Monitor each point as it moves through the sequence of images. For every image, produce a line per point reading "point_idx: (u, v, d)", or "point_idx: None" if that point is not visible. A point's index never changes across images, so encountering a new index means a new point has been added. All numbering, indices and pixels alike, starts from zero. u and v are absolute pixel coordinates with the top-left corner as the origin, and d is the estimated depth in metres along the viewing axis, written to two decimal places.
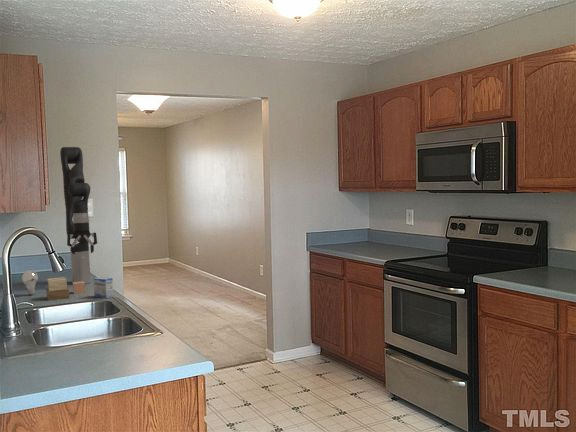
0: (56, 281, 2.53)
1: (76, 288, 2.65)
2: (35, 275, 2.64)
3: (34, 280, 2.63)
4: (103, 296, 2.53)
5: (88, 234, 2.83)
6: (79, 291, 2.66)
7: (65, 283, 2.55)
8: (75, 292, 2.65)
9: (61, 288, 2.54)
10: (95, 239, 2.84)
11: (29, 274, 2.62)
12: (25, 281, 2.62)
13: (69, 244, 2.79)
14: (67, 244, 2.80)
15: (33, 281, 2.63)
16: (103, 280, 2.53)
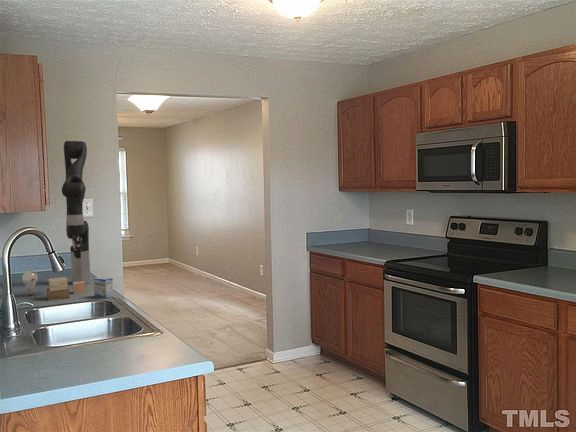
0: (57, 281, 2.53)
1: (76, 288, 2.65)
2: (35, 275, 2.64)
3: (34, 280, 2.63)
4: (103, 296, 2.53)
5: None
6: (79, 291, 2.66)
7: (66, 283, 2.55)
8: (75, 292, 2.65)
9: (62, 288, 2.54)
10: None
11: (28, 274, 2.62)
12: (25, 281, 2.62)
13: (80, 247, 2.62)
14: (77, 248, 2.61)
15: (33, 281, 2.63)
16: (103, 280, 2.53)
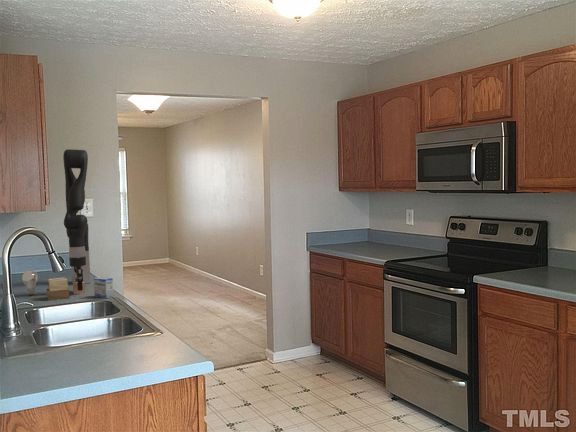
0: (57, 281, 2.53)
1: (76, 288, 2.65)
2: (35, 275, 2.64)
3: (34, 280, 2.63)
4: (103, 296, 2.53)
5: None
6: (79, 291, 2.66)
7: (66, 283, 2.55)
8: (75, 292, 2.65)
9: (62, 288, 2.54)
10: None
11: (28, 274, 2.62)
12: (25, 281, 2.62)
13: (82, 279, 2.63)
14: (79, 280, 2.61)
15: (33, 281, 2.63)
16: (103, 280, 2.53)
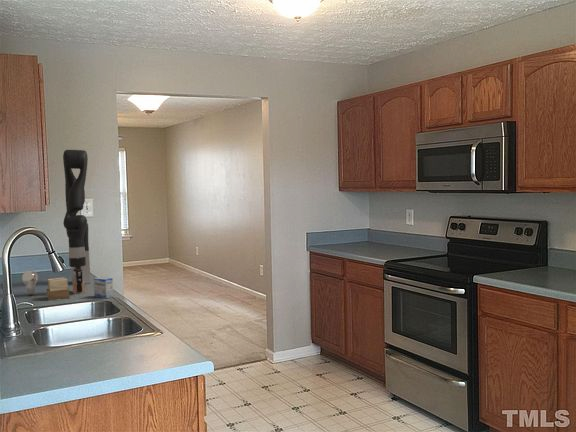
0: (57, 281, 2.53)
1: (76, 288, 2.66)
2: (35, 275, 2.64)
3: (34, 280, 2.63)
4: (103, 296, 2.53)
5: None
6: None
7: (66, 283, 2.55)
8: (75, 292, 2.65)
9: (62, 288, 2.54)
10: None
11: (28, 274, 2.62)
12: (25, 281, 2.62)
13: None
14: (78, 282, 2.63)
15: (33, 281, 2.63)
16: (103, 280, 2.53)
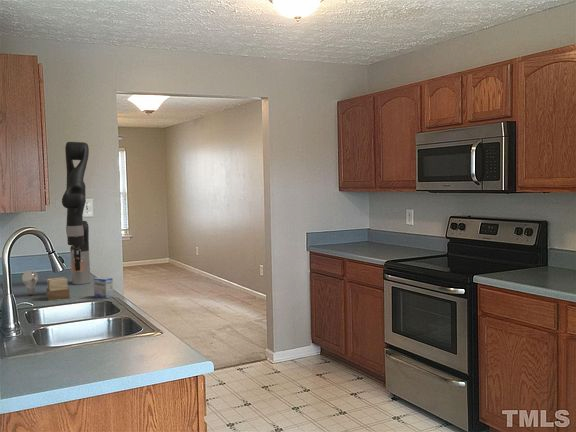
0: (57, 281, 2.53)
1: (74, 266, 2.65)
2: (35, 275, 2.64)
3: (34, 280, 2.63)
4: (103, 296, 2.53)
5: None
6: None
7: (66, 283, 2.55)
8: (73, 270, 2.65)
9: (62, 288, 2.54)
10: None
11: (29, 274, 2.62)
12: (25, 281, 2.62)
13: (80, 260, 2.64)
14: (76, 260, 2.62)
15: (33, 281, 2.63)
16: (103, 280, 2.53)
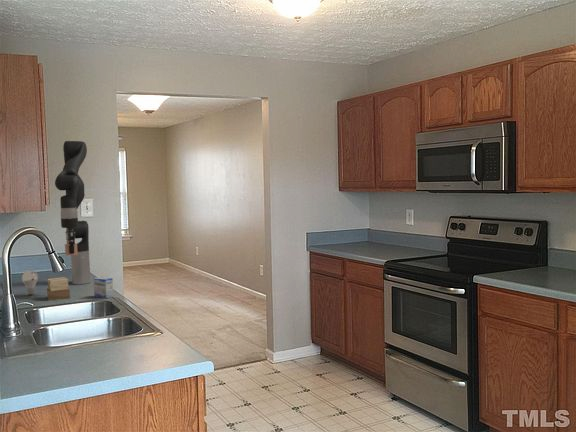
0: (58, 281, 2.53)
1: (68, 249, 2.61)
2: (35, 275, 2.64)
3: (34, 280, 2.63)
4: (103, 296, 2.53)
5: None
6: None
7: (67, 283, 2.55)
8: (67, 253, 2.60)
9: (63, 288, 2.54)
10: None
11: (28, 274, 2.62)
12: (25, 281, 2.62)
13: None
14: (70, 243, 2.58)
15: (33, 282, 2.63)
16: (103, 280, 2.53)
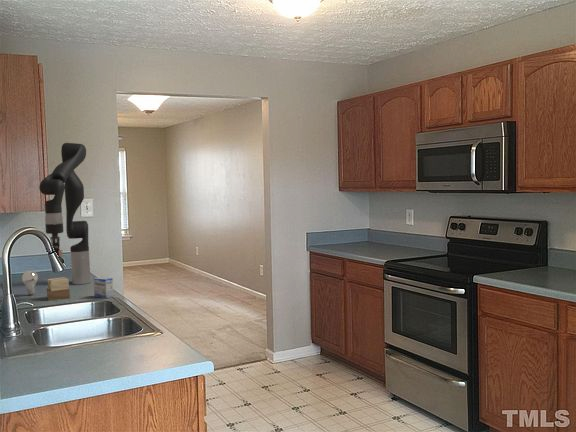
0: (58, 281, 2.53)
1: None
2: (35, 275, 2.64)
3: (34, 280, 2.63)
4: (103, 296, 2.53)
5: None
6: None
7: (67, 283, 2.55)
8: None
9: (63, 288, 2.54)
10: None
11: (28, 274, 2.62)
12: (25, 281, 2.62)
13: (59, 249, 2.52)
14: (55, 249, 2.50)
15: (33, 282, 2.63)
16: (103, 280, 2.53)
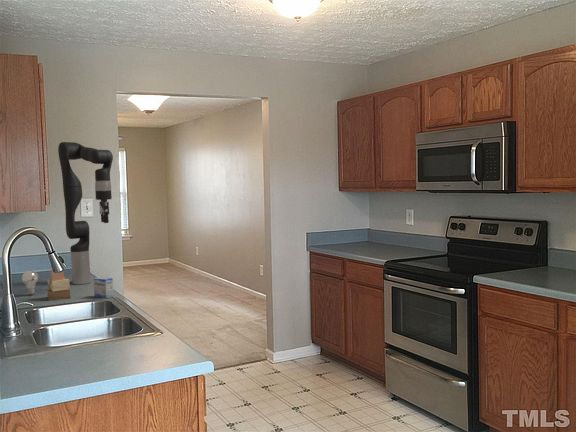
0: (59, 281, 2.53)
1: (54, 274, 2.53)
2: (35, 275, 2.64)
3: (34, 280, 2.63)
4: (103, 296, 2.53)
5: None
6: (57, 277, 2.54)
7: (68, 283, 2.55)
8: (53, 279, 2.53)
9: (64, 288, 2.54)
10: None
11: (28, 274, 2.62)
12: (25, 281, 2.62)
13: (108, 212, 2.70)
14: (105, 212, 2.69)
15: (33, 282, 2.63)
16: (103, 280, 2.53)
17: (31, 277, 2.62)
